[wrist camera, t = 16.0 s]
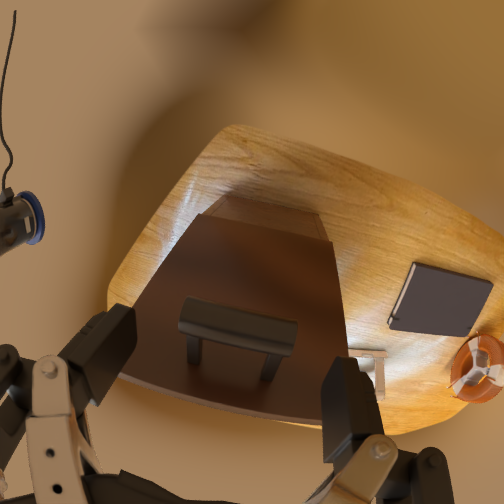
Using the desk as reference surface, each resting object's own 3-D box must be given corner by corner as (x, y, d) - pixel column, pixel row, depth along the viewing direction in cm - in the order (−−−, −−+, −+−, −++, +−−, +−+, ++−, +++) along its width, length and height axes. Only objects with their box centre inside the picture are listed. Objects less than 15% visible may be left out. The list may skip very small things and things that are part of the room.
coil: (492, 327, 43) (522, 368, 29) (453, 374, 48) (473, 418, 35) (479, 319, 42) (511, 363, 29) (437, 369, 48) (459, 417, 34)
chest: (289, 315, 46) (288, 365, 35) (209, 298, 47) (188, 343, 36) (318, 214, 39) (330, 243, 28) (223, 194, 40) (199, 215, 29)
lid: (347, 427, 12) (397, 380, 9) (100, 370, 13) (73, 306, 10) (330, 248, 28) (345, 202, 25) (197, 219, 29) (201, 172, 26)
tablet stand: (385, 349, 47) (396, 379, 39) (371, 376, 50) (379, 406, 42) (345, 346, 48) (351, 378, 40) (333, 374, 51) (337, 406, 43)
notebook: (489, 281, 39) (412, 261, 40) (493, 284, 37) (416, 265, 38) (463, 333, 44) (385, 324, 45) (466, 337, 42) (387, 329, 43)
